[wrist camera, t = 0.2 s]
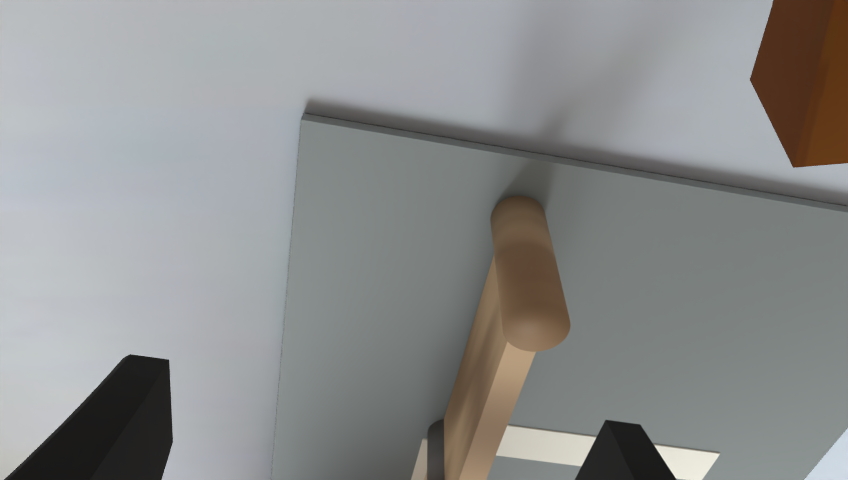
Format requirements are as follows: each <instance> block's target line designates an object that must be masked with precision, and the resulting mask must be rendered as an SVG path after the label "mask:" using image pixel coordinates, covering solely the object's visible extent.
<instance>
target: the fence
mask: <svg viewBox="0 0 848 480" xmlns="http://www.w3.org/2000/svg"><path fill="white" fill-rule="evenodd" d="M750 81H751V83H752V85H753V87H754V89H755V91H756V93H757V95H758V97H759V99H760V101H761V103H762V105H763V107H764V109H765V111H766V113H767V115H768V117H769V119H770V121H771V123H772V125H773V127H774V129H775V131H776V133H777V136H778V138H779V140H780V142H781V144H782V146H783V148H784V150H785V152H786V154H787V156H788V158H789V160H790V162H791V164H792V166H793V168H794V167H806V166H818V165H829V164H841V163H848V0H773V5H772V8H771V12H770V15H769V18H768V21H767V25H766V28H765V31H764V35H763V38H762V41H761V45H760V48H759V51H758V55H757V58H756V61H755V65H754V68H753V71H752V75H751V78H750Z"/></svg>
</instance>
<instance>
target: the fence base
mask: <svg viewBox="0 0 848 480" xmlns="http://www.w3.org/2000/svg"><path fill="white" fill-rule="evenodd" d="M424 480H445V467H444V419H442V420H439V421H436V422H434V423H433V424H432V425H431V426H430V427H429V428H428V432H427V471H426V475H425V478H424Z"/></svg>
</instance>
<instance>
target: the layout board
mask: <svg viewBox="0 0 848 480" xmlns="http://www.w3.org/2000/svg"><path fill="white" fill-rule="evenodd" d="M513 196H526V197H530V198H532V199H534V200H536V201H538V202H539V203H540V204H541V206H542V207H543V209H544V211H545V215H546V220H547V224H548V228H549V232H550V237H551V241H552V245H553V250H554V254H555V258H556V262H557V267H558V271H559V275H560V280H561V284H562V288H563V292H564V297H565V301H566V305H567V310H568V314H569V318H570V323H571V326H570V331H569V333H568V335H567V337H566V338H565V339H564V340H563V341H562V342H561V343H560V344H558V345H557V346H555V347H553V348H551V349H548V350H544V351H538V352H536V353H535V356H534V358H533V361H532V363H531V366H530V368H529V371H528V373H527V376H526V379H525V381H524V384H523V386H522V389H521V391H520V394H519V397H518V399H517V402H516V404H515V407H514V409H513V412H512V415H511V417H510V420H509V422H508V425H507V427H506V430H505V432H504V435H503V438H502V440H501V443H500V445H499V448H498V450H497V453H496V456H495V458H494V461H493V463H492V466H491V468H490V471H489V473H488V476H487V479H486V480H575V478H576V476H577V474H578V472H579V470H580V468H581V466H582V465H583V463H584V461H585V459H586V457H587V455H588V453H589V451H590V449H591V447H592V445H593V443H594V441H595V439H596V437H597V435H598V433H599V431H600V430H601V428H602V426H603V424H604V422H605V420H612V421H619V422H627V423H634V424H640V425H641V426H642V428H643V429H644V431H645V432H646V434H647V435H648V437H649V438H650V440H651V441H652V443H653V444H654V446H655V447H656V449H657V450H658V452H659V453H660V455H661V457H662V458H663V460H664V461H665V463H666V464H667V466H668V467H669V469H670V470H671V472H672V473H673V475H674V476H675V478H676V479H677V480H804V479H805V478H806V477H807V476H808V474H809V473H810V472H811V471H812V470H813V468H814V467H815V466H816V465H817V464H818V462H819V461H820V460H821V459H822V458H823V456H824V455H825V454H826V453H827V452H828V451H829V449H830V448H831V447H832V446H833V445H834V443H835V442H836V441H837V440H838V439H839V437H840V436H841V435H842V434H843V433H844V432H845V430H846V429H847V428H848V206H843V205H837V204H831V203H825V202H819V201H813V200H808V199H802V198H796V197H790V196H784V195H778V194H772V193H767V192H761V191H755V190H749V189H743V188H737V187H732V186H726V185H720V184H714V183H708V182H702V181H697V180H691V179H685V178H679V177H673V176H667V175H661V174H656V173H650V172H644V171H638V170H632V169H626V168H621V167H615V166H609V165H603V164H597V163H591V162H586V161H580V160H574V159H568V158H562V157H556V156H550V155H545V154H539V153H533V152H527V151H521V150H515V149H510V148H504V147H498V146H492V145H486V144H480V143H475V142H469V141H463V140H457V139H451V138H445V137H439V136H434V135H428V134H422V133H416V132H410V131H404V130H399V129H393V128H387V127H381V126H375V125H369V124H364V123H358V122H352V121H346V120H340V119H334V118H328V117H323V116H317V115H311V114H305V113H303V116H302V119H301V127H300V139H299V151H298V163H297V174H296V186H295V198H294V210H293V222H292V234H291V246H290V258H289V270H288V282H287V293H286V305H285V317H284V329H283V341H282V353H281V365H280V377H279V389H278V401H277V412H276V424H275V436H274V448H273V460H272V472H271V480H424V478H425V475H426V471H427V432H428V428H429V427H430V426H431V425H432V424H433V423H434V422H436V421H439V420H442V419H444V417H445V414H446V411H447V407H448V404H449V401H450V397H451V394H452V391H453V388H454V384H455V381H456V378H457V374H458V371H459V368H460V365H461V361H462V358H463V355H464V351H465V348H466V345H467V342H468V338H469V335H470V332H471V328H472V325H473V322H474V318H475V315H476V312H477V309H478V305H479V302H480V299H481V295H482V292H483V289H484V286H485V282H486V279H487V276H488V272H489V269H490V266H491V263H492V259H493V256H494V248H493V239H492V231H491V222H490V218H491V214H492V211H493V209H494V208H495V207H496V206H497V205H498V204H499V203H500V202H501V201H503V200H505V199H507V198H509V197H513Z"/></svg>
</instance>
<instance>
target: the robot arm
mask: <svg viewBox="0 0 848 480" xmlns="http://www.w3.org/2000/svg"><path fill="white" fill-rule="evenodd" d="M172 443H173V436H172V414H171V392H170V369H169V360H167V359H160V358H152V357H145V356H138V355H131V354H130V355H128V356H126V357H125V358H123V359H122V360H121V361H120V362H119V364H118V365H117V366H116V367H115V368H114V369H113V370H112V371H111V373H110V374H109V375H108V376H107V377H106V378H105V379H104V380H103V381H102V382H101V384H100V385H99V386H98V387H97V388H96V389H95V390H94V391H93V392H92V393H91V394H90V395H89V396H88V397H87V399H86V400H85V401H84V402H83V403H82V404H81V405H80V406H79V407H78V408H77V409H76V410H75V411H74V412H73V413H72V414H71V415H70V416H69V417H68V418H67V419H66V420H65V421H64V422H63V423H62V424H61V425H60V426H59V427H58V428H57V429H56V430H55V431H54V432H53V433H52V434H51V435H50V436H49V437H48V438H47V439H46V440H45V441H44V442H43V443H42V444H41V445H40V446H39V447H38V448H37V449H36V450H35V451H34V452H33V453H32V454H31V455H30V456H29V457H28V458H27V459H26V460H25V461H24V462H23V463H22V464H20V465H19V466H18V467H17V468H16V469H15V470H14V471H13V472H12V473H11V474H10V475H9V476H8V477H6V478H5V479H4V480H161V479H162V476H163V473H164V469H165V466H166V463H167V459H168V456H169V453H170V449H171V446H172ZM575 480H677V479H676V478H675V476H674V475H673V473H672V472H671V470H670V469H669V467H668V466H667V464H666V463H665V461H664V460H663V458H662V457H661V455H660V453H659V452H658V450H657V449H656V447H655V446H654V444H653V443H652V441H651V440H650V438H649V437H648V435H647V434H646V432H645V431H644V429H643V428H642V426H641V425H640V424H634V423H627V422H619V421H612V420H605V422H604V424H603V426H602V428H601V430H600V431H599V433H598V435H597V437H596V439H595V441H594V443H593V445H592V447H591V449H590V451H589V453H588V455H587V457H586V459H585V461H584V463H583V465H582V466H581V468H580V470H579V472H578V474H577V476H576V478H575Z"/></svg>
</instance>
